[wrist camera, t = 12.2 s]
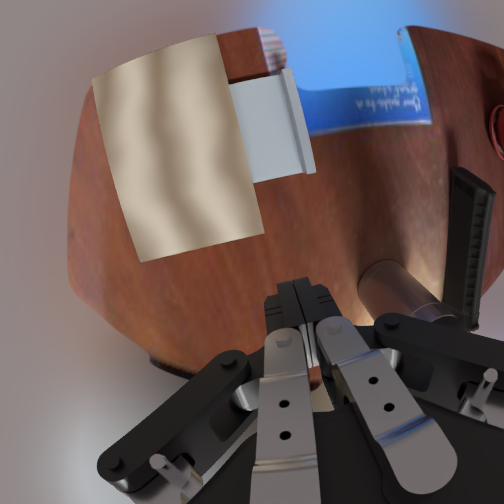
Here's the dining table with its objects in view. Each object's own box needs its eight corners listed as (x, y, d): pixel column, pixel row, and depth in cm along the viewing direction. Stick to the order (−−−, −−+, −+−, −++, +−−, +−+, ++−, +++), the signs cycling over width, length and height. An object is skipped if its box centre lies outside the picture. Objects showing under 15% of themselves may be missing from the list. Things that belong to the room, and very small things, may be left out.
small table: (223, 65, 31) (215, 32, 20) (258, 207, 39) (264, 233, 28) (132, 95, 32) (91, 79, 21) (168, 230, 40) (140, 262, 28)
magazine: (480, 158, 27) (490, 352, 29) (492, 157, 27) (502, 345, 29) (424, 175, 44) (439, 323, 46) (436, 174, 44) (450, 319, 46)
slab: (286, 75, 32) (291, 67, 29) (309, 169, 37) (316, 172, 34) (147, 112, 34) (136, 108, 30) (171, 203, 38) (163, 209, 35)
